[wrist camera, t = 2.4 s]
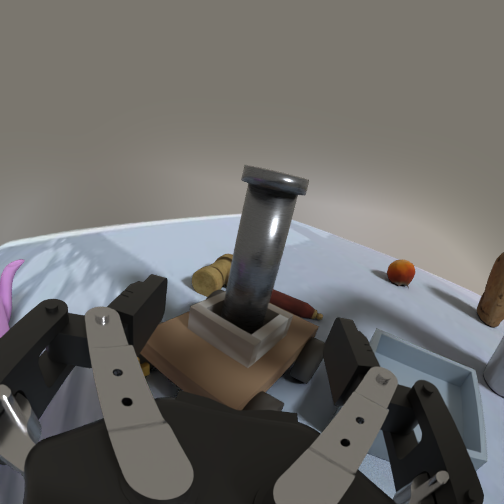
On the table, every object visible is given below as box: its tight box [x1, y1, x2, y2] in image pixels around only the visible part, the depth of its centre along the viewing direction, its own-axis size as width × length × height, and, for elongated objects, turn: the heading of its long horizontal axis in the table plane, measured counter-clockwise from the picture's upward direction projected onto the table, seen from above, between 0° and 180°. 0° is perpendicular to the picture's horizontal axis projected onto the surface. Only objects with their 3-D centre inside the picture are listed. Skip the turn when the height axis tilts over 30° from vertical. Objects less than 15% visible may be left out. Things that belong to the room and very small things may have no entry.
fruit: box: [387, 260, 415, 289], centre depth 68 cm, size 8×8×8 cm
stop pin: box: [221, 165, 309, 335], centre depth 23 cm, size 5×5×15 cm
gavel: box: [192, 254, 323, 320], centre depth 44 cm, size 21×5×10 cm
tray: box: [329, 328, 487, 471], centre depth 24 cm, size 18×18×4 cm
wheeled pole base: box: [138, 290, 325, 411], centre depth 26 cm, size 16×15×8 cm
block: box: [477, 252, 504, 327], centre depth 52 cm, size 11×8×20 cm
